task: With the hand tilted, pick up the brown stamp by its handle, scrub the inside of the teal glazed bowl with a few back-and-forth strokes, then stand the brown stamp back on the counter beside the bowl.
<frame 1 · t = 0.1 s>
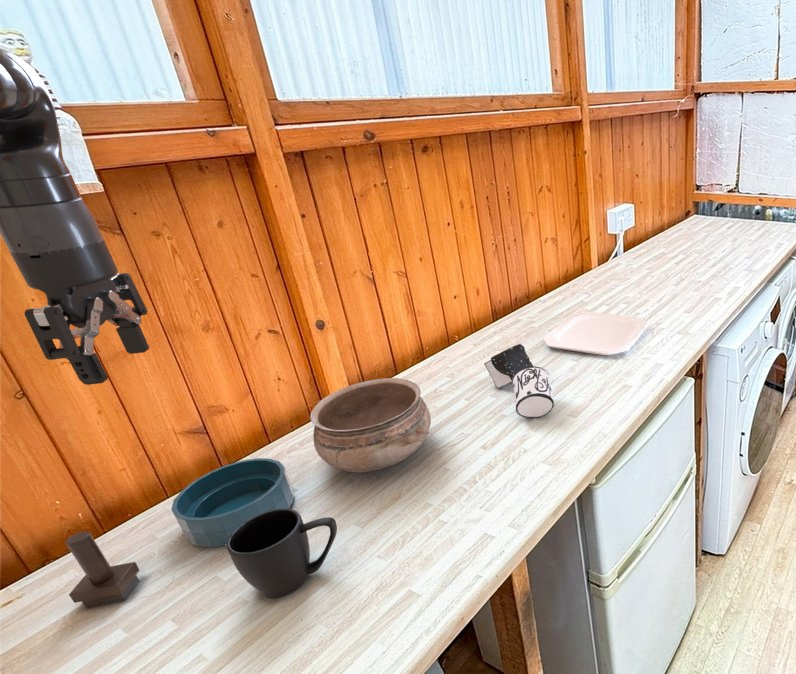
hand: (119, 366, 66), 30 cm above the worktop, tool pointing down, fingers open, 8 cm apart
bowl: (243, 516, 84), on the worktop
cooking pot: (383, 458, 97), on the worktop
mug: (302, 578, 73), on the worktop
black and white cylinder: (521, 400, 115), on the worktop
brown stamp: (113, 594, 71), on the worktop
plate: (597, 337, 145), on the worktop
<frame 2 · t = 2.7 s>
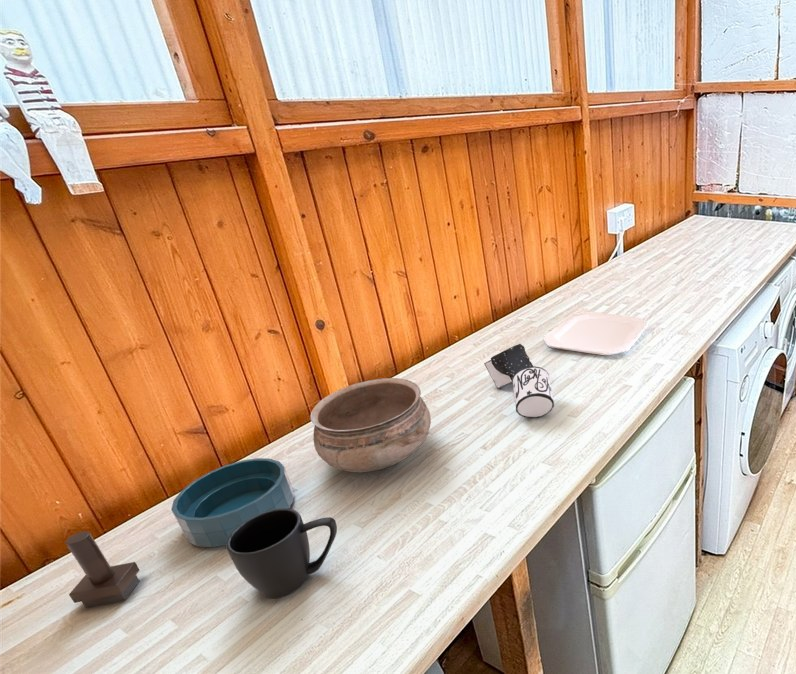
nothing on the worktop moved.
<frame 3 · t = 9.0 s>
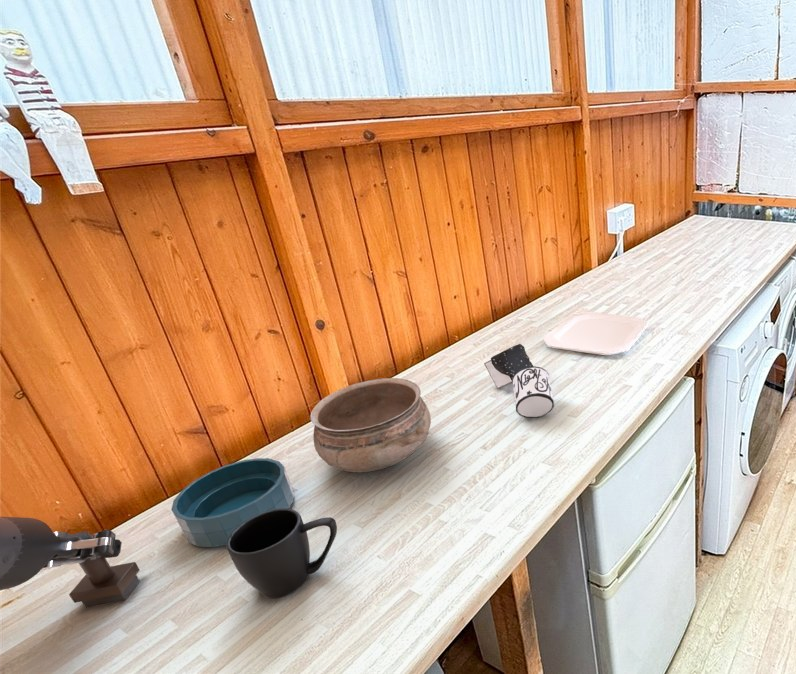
hand: (103, 550, 70), 6 cm above the worktop, tool tilted 45°, fingers closed on brown stamp, 2 cm apart
brown stamp: (113, 594, 71), on the worktop, touching gripper
everything else where it was.
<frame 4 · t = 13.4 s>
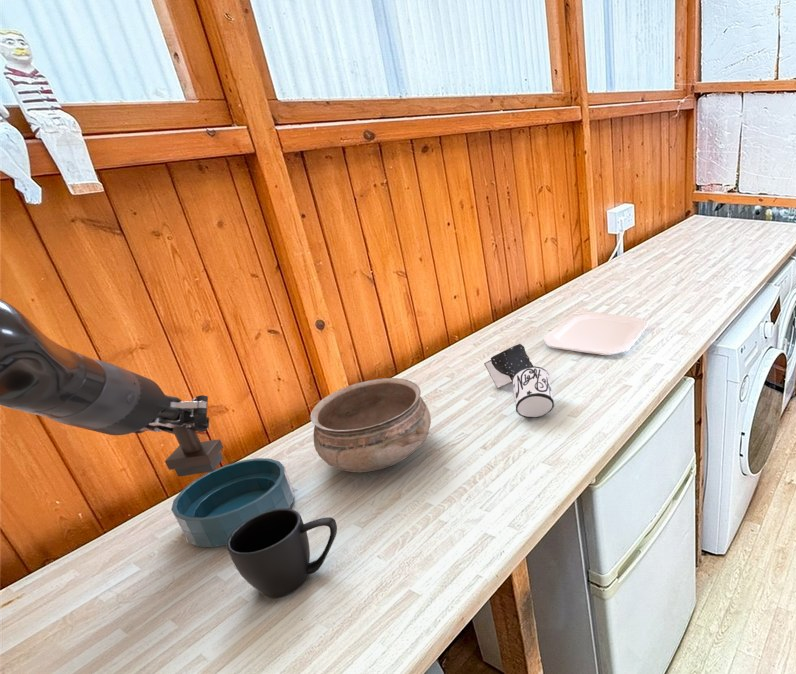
hand: (193, 426, 76), 17 cm above the worktop, tool tilted 45°, fingers closed on brown stamp
brown stamp: (201, 467, 77), point 11 cm above the worktop, touching gripper
everything else where it was.
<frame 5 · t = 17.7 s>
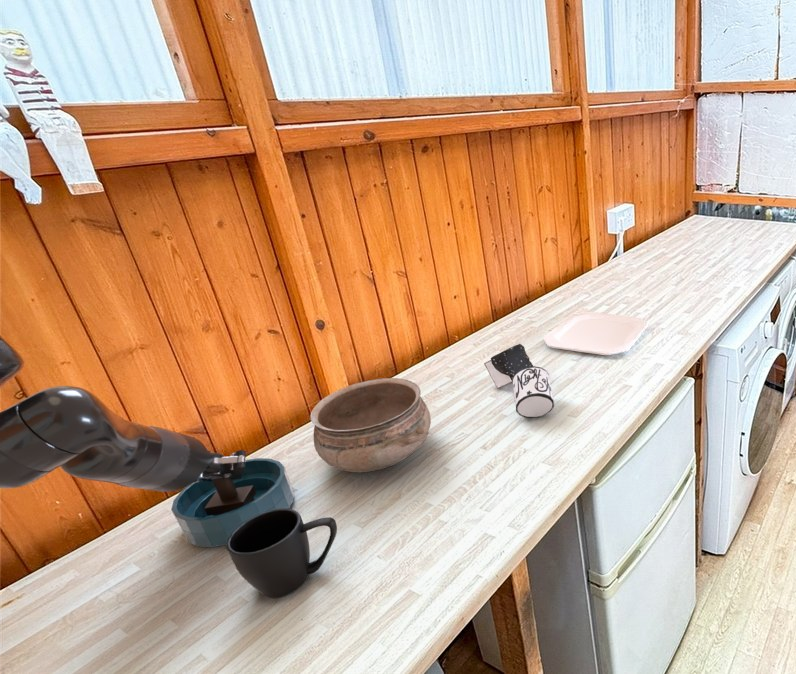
hand: (229, 474, 82), 7 cm above the worktop, tool tilted 45°, fingers closed on brown stamp, 2 cm apart
brown stamp: (236, 511, 83), point 1 cm above the worktop, touching gripper
everything else where it was.
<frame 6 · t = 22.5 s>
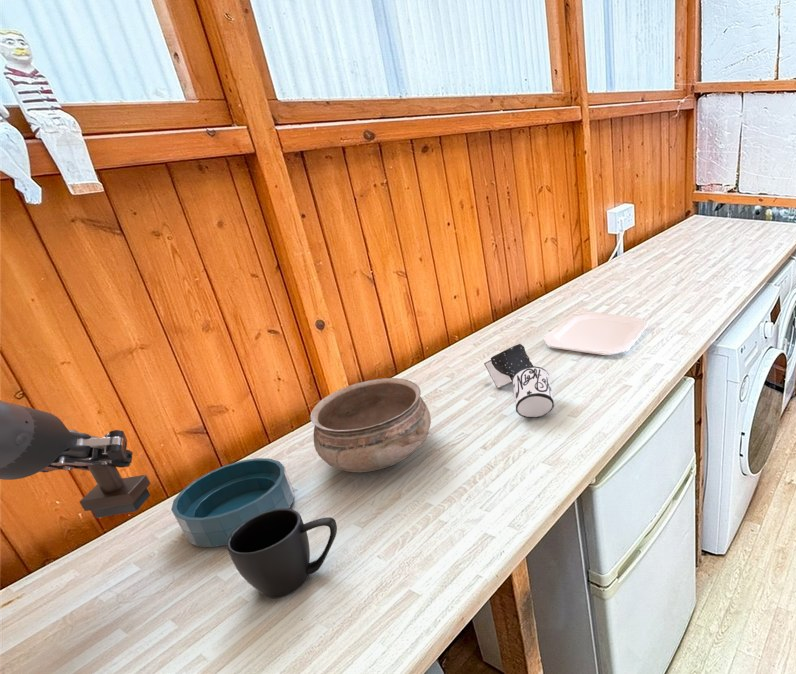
hand: (114, 461, 69), 18 cm above the worktop, tool tilted 45°, fingers closed on brown stamp
brown stamp: (124, 506, 69), point 12 cm above the worktop, touching gripper
everything else where it was.
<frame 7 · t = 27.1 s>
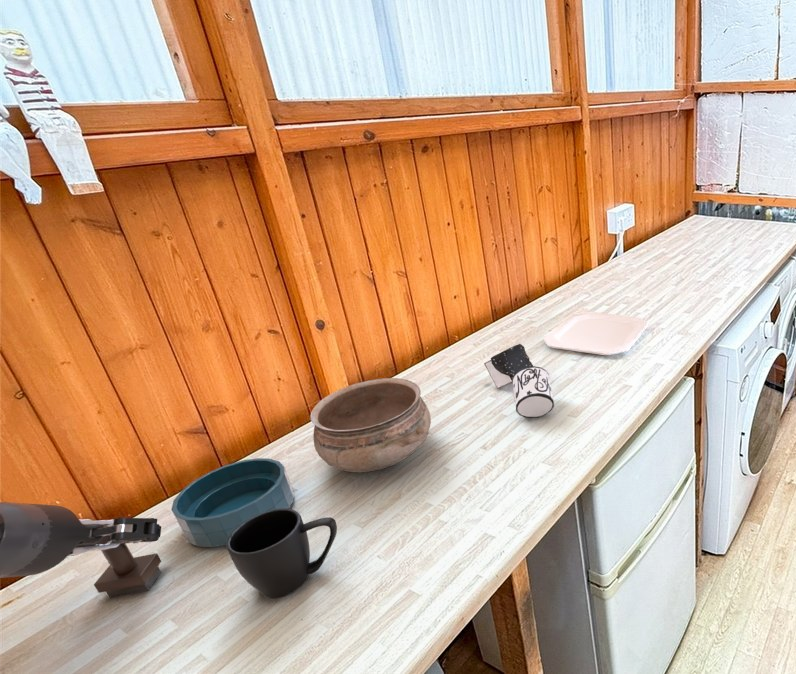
hand: (119, 539, 70), 7 cm above the worktop, tool tilted 45°, fingers open, 8 cm apart
brown stamp: (136, 584, 72), on the worktop
everything else where it was.
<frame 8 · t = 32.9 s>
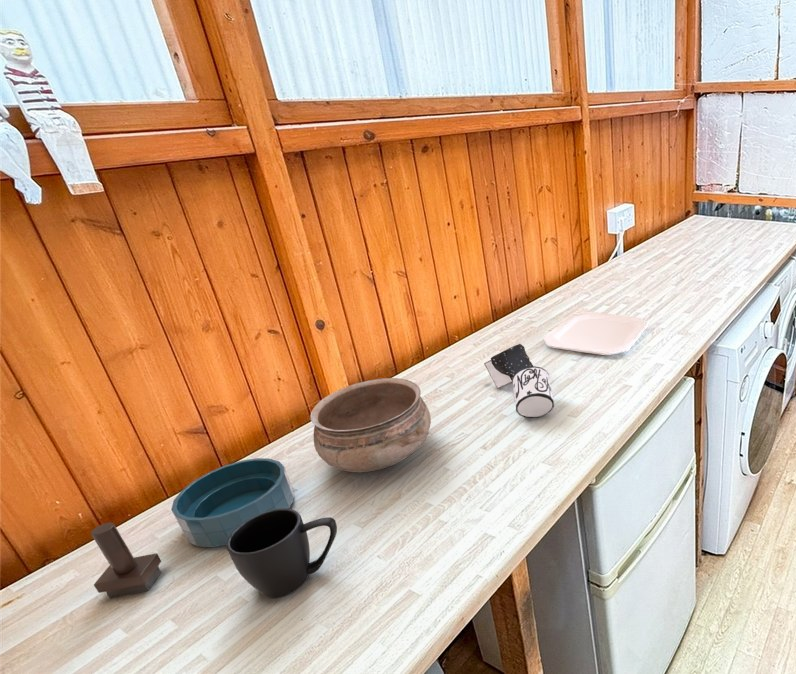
nothing on the worktop moved.
at the end: brown stamp inside the target area (0.1 cm from its centre), on the worktop; brown stamp tilted 0°; bowl moved 0.0 cm from its start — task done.
